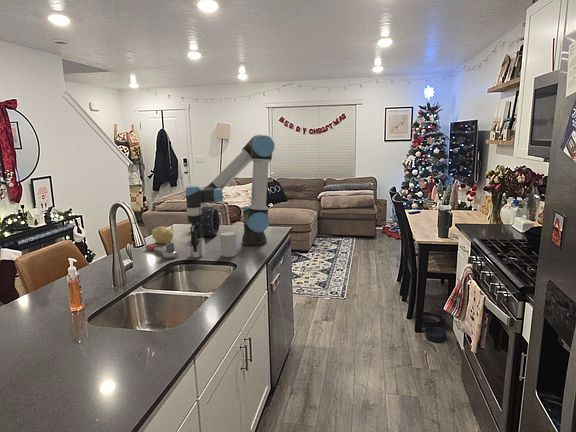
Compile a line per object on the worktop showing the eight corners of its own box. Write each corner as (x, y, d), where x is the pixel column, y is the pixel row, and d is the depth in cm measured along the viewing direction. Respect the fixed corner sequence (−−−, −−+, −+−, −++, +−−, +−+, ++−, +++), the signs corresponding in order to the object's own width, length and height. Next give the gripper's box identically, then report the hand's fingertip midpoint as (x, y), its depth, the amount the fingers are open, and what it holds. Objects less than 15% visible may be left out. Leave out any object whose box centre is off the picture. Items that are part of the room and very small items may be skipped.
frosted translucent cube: (205, 253, 218) (204, 237, 216) (202, 256, 212) (201, 240, 210) (193, 253, 218) (192, 238, 217) (190, 257, 212) (189, 241, 210)
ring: (221, 232, 268) (219, 203, 264) (213, 239, 249) (210, 209, 245) (206, 232, 269) (204, 204, 265) (196, 239, 250) (194, 209, 246)
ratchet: (181, 256, 213) (179, 242, 211) (167, 260, 208) (166, 246, 206) (156, 247, 234) (154, 234, 233) (143, 250, 229) (141, 237, 227)
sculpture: (150, 244, 242) (148, 228, 240) (161, 239, 253) (160, 223, 251) (166, 245, 238) (164, 228, 236) (177, 240, 250) (175, 224, 248)
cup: (220, 254, 215) (218, 233, 213) (233, 251, 219) (232, 231, 217) (224, 257, 208) (223, 236, 206) (238, 255, 212) (237, 234, 210)
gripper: (192, 211, 221) (195, 249, 225) (182, 218, 200) (186, 260, 205) (205, 210, 221) (208, 249, 225) (196, 218, 200) (200, 260, 205)
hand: (198, 254), depth 215 cm, fingers open, 8 cm apart
